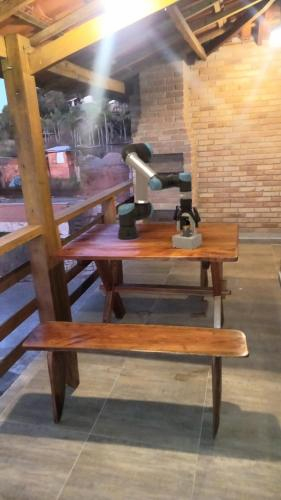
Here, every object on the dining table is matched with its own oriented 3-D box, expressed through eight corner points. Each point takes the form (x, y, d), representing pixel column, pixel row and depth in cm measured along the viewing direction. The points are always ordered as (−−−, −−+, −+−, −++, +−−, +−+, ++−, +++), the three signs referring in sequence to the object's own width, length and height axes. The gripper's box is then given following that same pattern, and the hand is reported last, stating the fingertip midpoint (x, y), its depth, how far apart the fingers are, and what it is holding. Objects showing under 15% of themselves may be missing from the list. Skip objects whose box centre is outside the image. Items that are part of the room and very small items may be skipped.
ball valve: (189, 240, 256) (188, 214, 251) (177, 239, 261) (176, 214, 255) (199, 234, 271) (199, 209, 266) (188, 233, 275) (188, 208, 270)
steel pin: (182, 244, 245) (181, 226, 242) (185, 243, 249) (185, 225, 245) (188, 245, 243) (187, 227, 239) (191, 243, 246) (191, 225, 242)
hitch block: (172, 247, 245) (172, 236, 243) (183, 241, 255) (183, 231, 253) (191, 250, 237) (191, 239, 235) (202, 244, 246) (201, 234, 244)
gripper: (166, 198, 241) (167, 231, 247) (200, 200, 226) (200, 235, 233) (172, 196, 246) (174, 228, 253) (206, 197, 232) (206, 232, 238)
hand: (186, 231), depth 243 cm, fingers open, 12 cm apart
